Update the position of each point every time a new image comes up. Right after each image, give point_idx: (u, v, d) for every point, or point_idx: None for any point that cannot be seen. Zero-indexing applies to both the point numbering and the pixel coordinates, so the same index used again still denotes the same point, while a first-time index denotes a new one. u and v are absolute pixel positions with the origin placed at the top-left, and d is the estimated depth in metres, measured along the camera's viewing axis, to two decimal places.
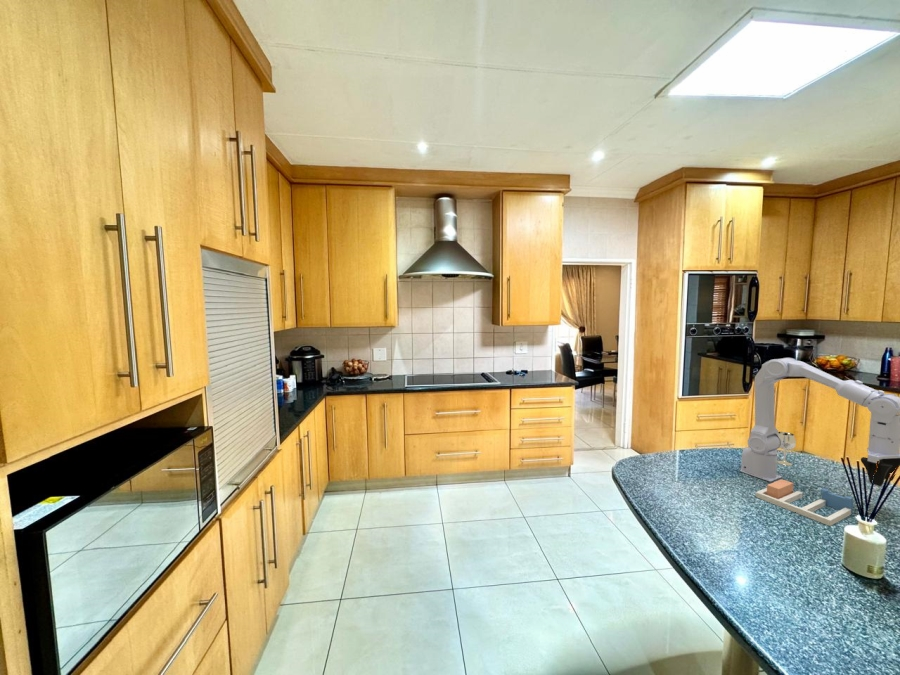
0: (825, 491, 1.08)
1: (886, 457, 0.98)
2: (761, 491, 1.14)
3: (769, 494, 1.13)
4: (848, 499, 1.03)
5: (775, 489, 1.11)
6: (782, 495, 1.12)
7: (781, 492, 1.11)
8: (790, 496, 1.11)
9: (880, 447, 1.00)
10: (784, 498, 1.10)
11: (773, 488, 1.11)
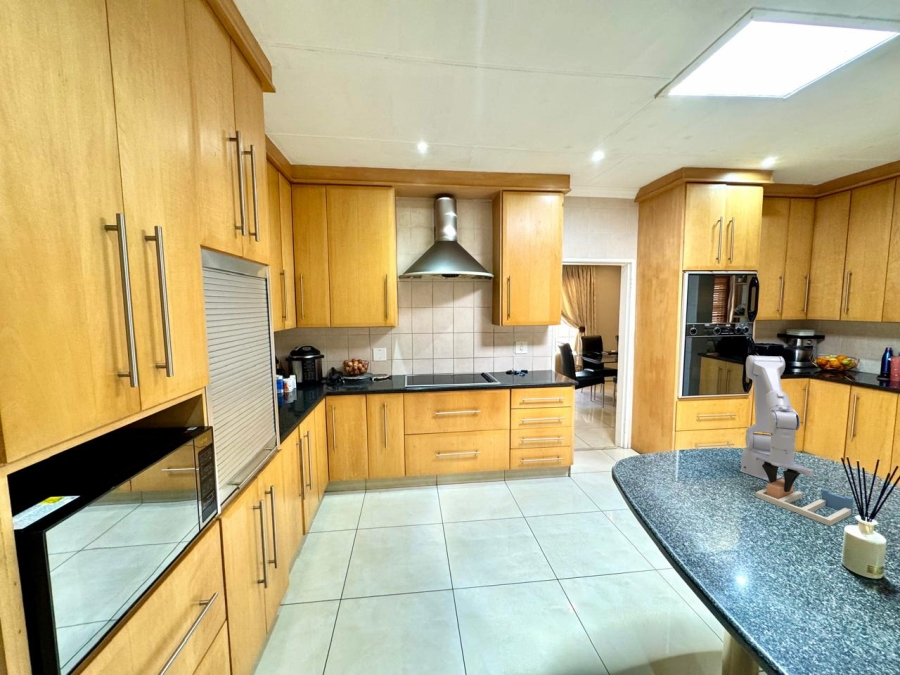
0: (825, 491, 1.08)
1: (762, 458, 1.16)
2: (761, 491, 1.14)
3: (769, 494, 1.12)
4: (848, 499, 1.03)
5: (775, 489, 1.11)
6: (782, 495, 1.12)
7: (781, 491, 1.11)
8: (790, 496, 1.11)
9: None
10: (784, 498, 1.10)
11: (773, 488, 1.11)
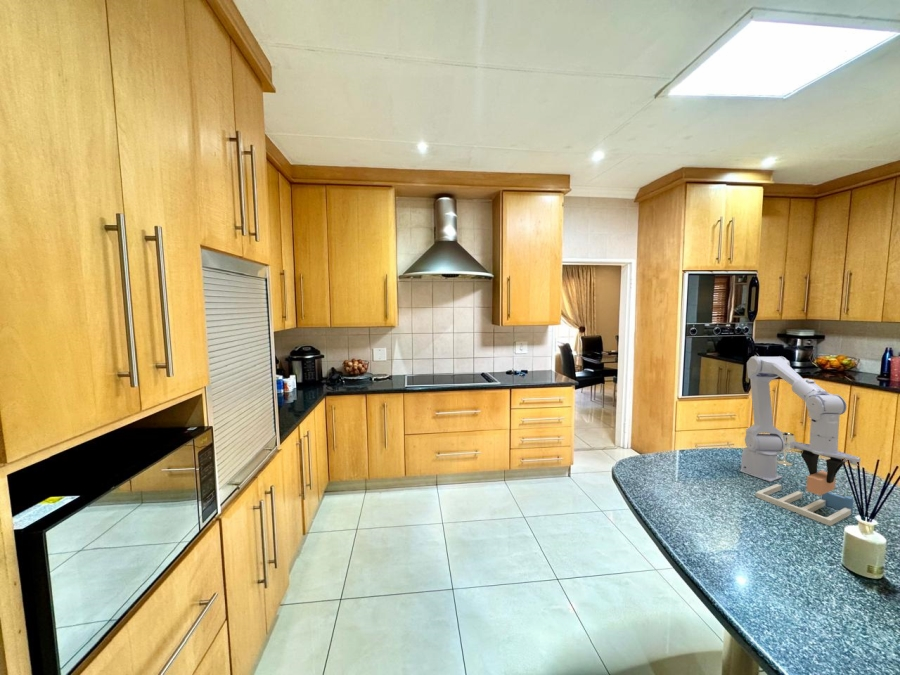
0: None
1: (801, 446, 1.07)
2: (761, 491, 1.14)
3: (809, 486, 1.03)
4: (848, 499, 1.03)
5: (816, 481, 1.02)
6: (825, 488, 1.02)
7: (824, 484, 1.02)
8: (790, 496, 1.11)
9: None
10: (784, 498, 1.10)
11: (814, 480, 1.02)
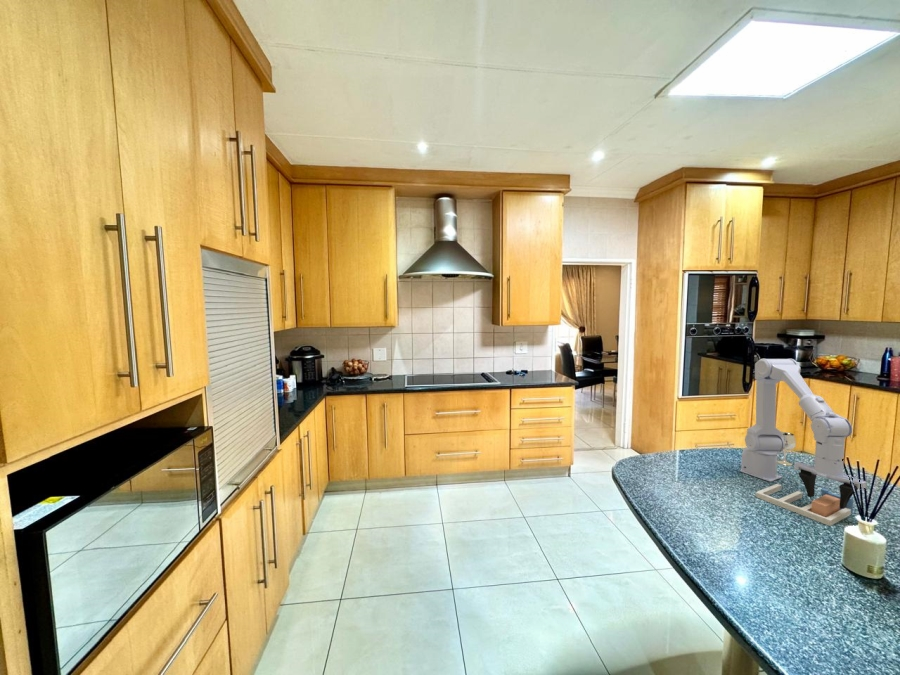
0: (825, 491, 1.08)
1: (805, 468, 1.06)
2: (761, 491, 1.14)
3: (814, 511, 1.03)
4: None
5: (822, 506, 1.01)
6: (830, 513, 1.02)
7: (829, 509, 1.01)
8: (790, 496, 1.11)
9: None
10: (784, 498, 1.10)
11: (819, 505, 1.02)
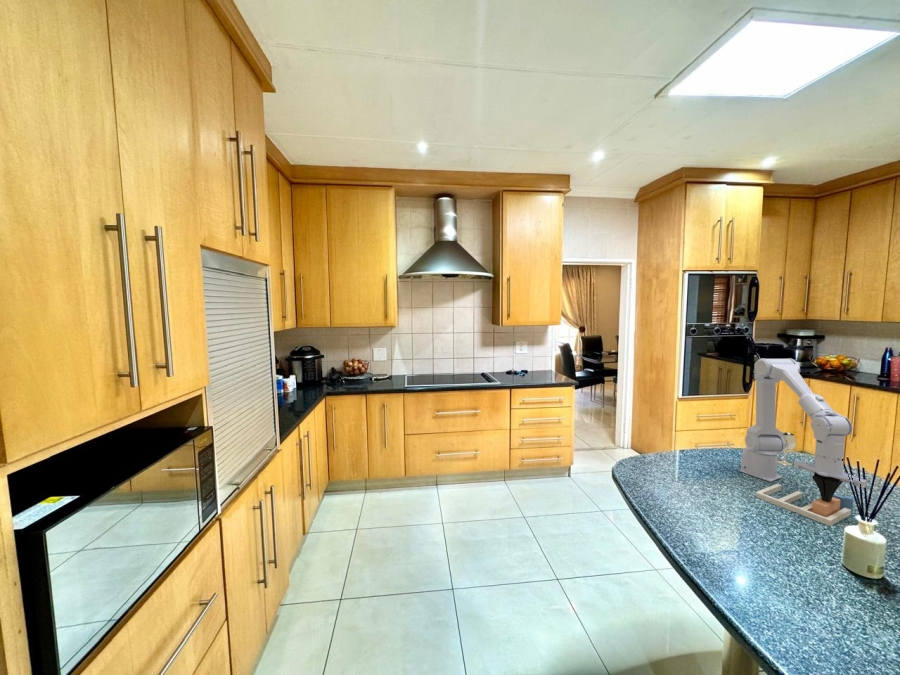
0: None
1: (806, 467, 1.06)
2: (761, 491, 1.14)
3: (815, 512, 1.02)
4: (848, 499, 1.03)
5: (822, 507, 1.01)
6: (830, 514, 1.01)
7: (829, 510, 1.01)
8: (790, 496, 1.11)
9: None
10: (784, 498, 1.10)
11: (820, 506, 1.01)
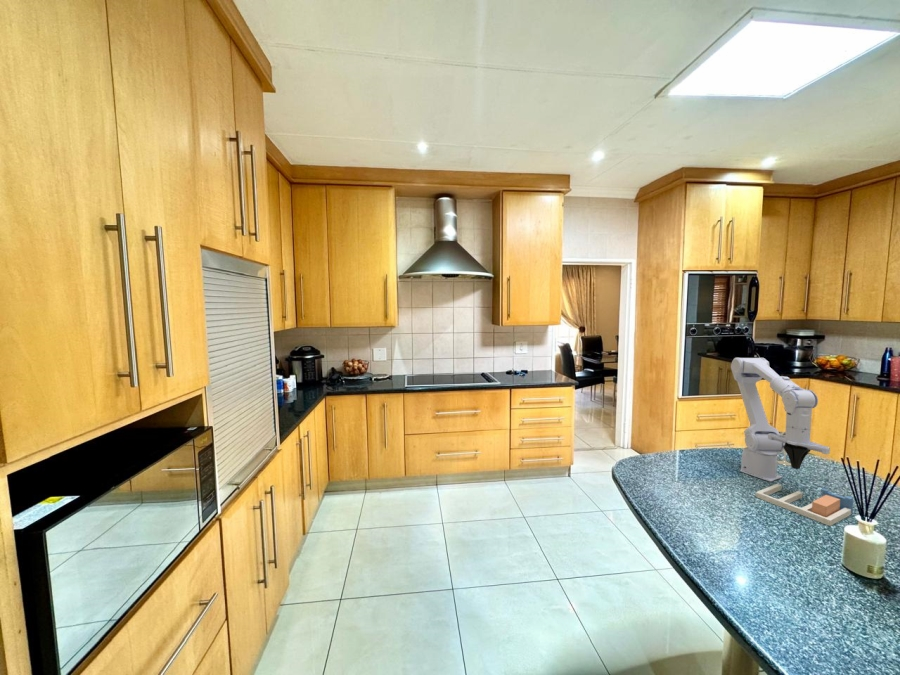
0: (825, 491, 1.08)
1: (777, 438, 1.16)
2: (761, 491, 1.14)
3: (815, 512, 1.02)
4: (848, 499, 1.03)
5: (822, 507, 1.01)
6: (830, 514, 1.01)
7: (829, 510, 1.01)
8: (790, 496, 1.11)
9: None
10: (784, 498, 1.10)
11: (820, 505, 1.01)
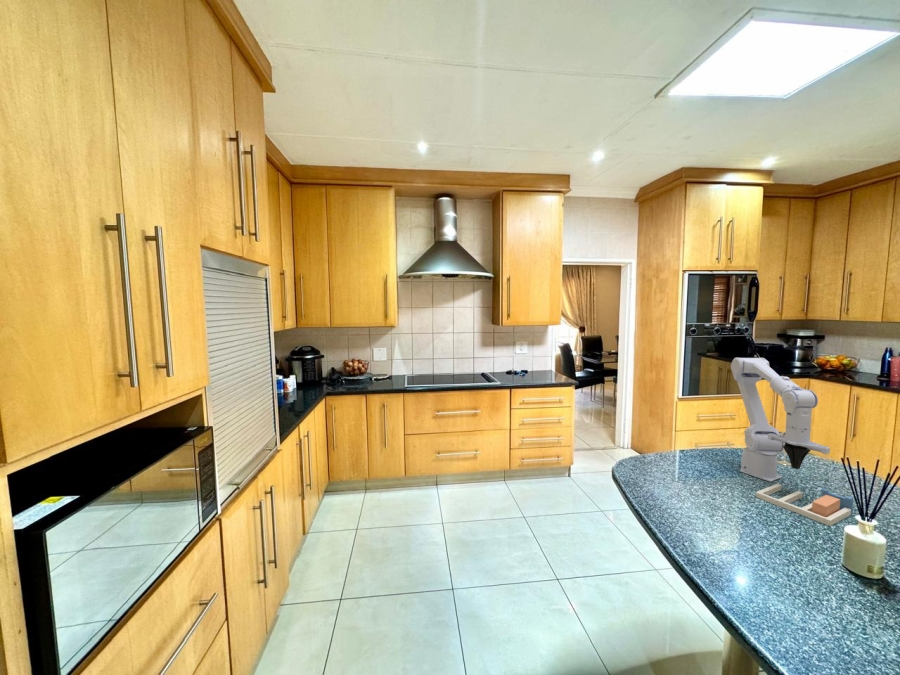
0: (825, 491, 1.08)
1: (777, 438, 1.16)
2: (761, 491, 1.14)
3: (815, 512, 1.02)
4: (848, 499, 1.03)
5: (822, 507, 1.01)
6: (830, 514, 1.01)
7: (829, 510, 1.01)
8: (790, 496, 1.11)
9: None
10: (784, 498, 1.10)
11: (820, 505, 1.01)
